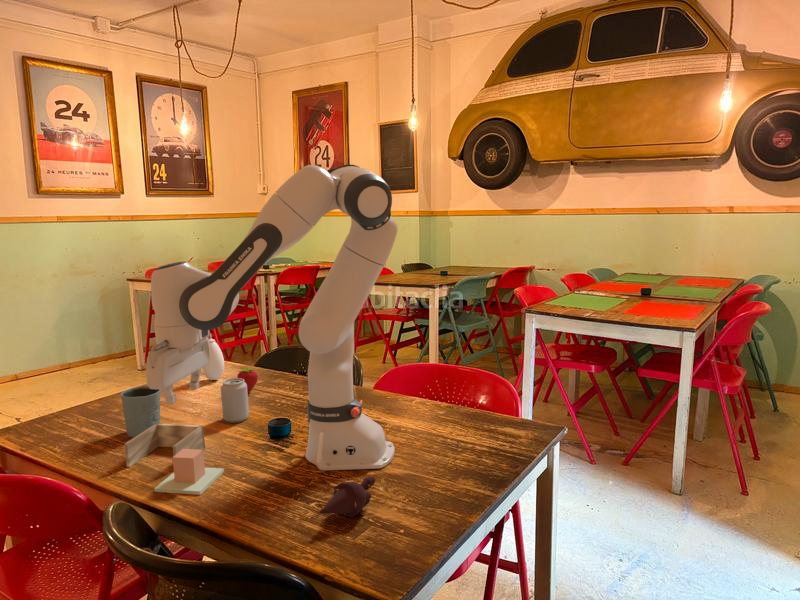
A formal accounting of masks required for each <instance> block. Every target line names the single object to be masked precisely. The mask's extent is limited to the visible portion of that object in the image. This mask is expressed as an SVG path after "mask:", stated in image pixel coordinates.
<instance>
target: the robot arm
mask: <svg viewBox="0 0 800 600" xmlns="http://www.w3.org/2000/svg"><path fill="white" fill-rule="evenodd" d="M392 206H393V195H392V191H391V188H390V186H389V184H388V183H387V182H386V181H385V180H384V179H383V177H381V176H379V175H378V174H376V173H374V172H373V171H371V170H370V169H367V168H364V167H360V166H358V165H356V164H344V165H340V166H337V167H334V168H331V169H329V170H326V169H325V168H324V167H321V166H319V165H316V164H308V165H305V166H303V167H302V168H301V169H299V170H298V171H296V172H295V173H294V174H293V175H292V176H290V177H289V178H288V179H286V180H285V182H284V183H282V184H281V185H280V187H279V188H278V189H276V191H274V193H273V194H272V195H271V196H270V197H269V199H268V200H267V201H266V203H265V204H264V205H263V207H262V208H261V210H260V211H259V213H258V214H257V215H256V218H255V220H254V222H253V223H252V225H251V226H250V228H249V230H248V232H247V233H246V235H245V236H244V238H243V240H242V241H241V242H240V244H238V246H237V247H236V248H235V249H234V250H233V251H232V252H231V254H229V256H228V257H227V258H225V260H224V261H223V262H222V263H221V264H220V266H218V267H217V268H216V270H215V271H214V272H213V273H212V272H211V273H210V272H209V271H208V272H207V271H205V270H202V269H200V268H198V267H195V266H194V265H192V264H190V263H189V262H187V261H177V262H171V263H167V264H164V265H161V266H158V267H157V268H155V269H154V270H153V271H152V274H151V279H150V294H151V295H150V297H151V306H152V308H153V310H154V315H155V316H154V323H153V325H154V327H153V328H154V334H155V335H154V336H155V344H154V345H152V347H151V349H150V351H149V352H148V356H147V357H146V365H145V366H146V367H145V368H146V371H145V372H146V385H147V386H148V387H149V388H150V389H160V393H162V395H163V396H164V399H165V401H164V402H165V404H166V405H173V404H175V403H176V402H177V401H178V400H177V394H174V392H173V389H174V386H173V385H174V384H175V383H179V381H181V380H183V379H185V378H187V377H188V376H190V381H189V382H188V389H189V391H196V390H197V389H200V378H201V375H202V368H203V367H205V366H207V365H208V364H209V362H210V343H209V339H210V338H209V337H210V333H211V332H210V331H212V330H215V329H217V328H220V327H222V325H224V323H225V322H226V321H227V320H228V318H229V316H230V315H231V314H232V313H233V312H234V310H235V309H236V308H237V306H238V304H239V303H240V299H241V298H240V295H241V294H240V291H242V289H243V288H245V286H246V285H247V284H248V283H249V282H250V281H251V279H252V278H253V277H254V276H255V275H256V274H257V273H258V272H259V271H260V269H261V268H263V266H264V265H266V264H267V263H268V262H270V261H271V260H272V259H274V258H275V257H277V256H278V255H280V254H281V253H284V252H285V251H287V250H289V249H290V248H292V247H293V246H294V245H296V244H297V243H298V242H299V241H301V240H302V239H303V238H305V237H306V235H307V234H308V233H310V231H311V230H312V229H313V227H314V228H315V226H316V225H317V224H318V223H319V221H320V220H321V219H322V218H323V217H324V216H326V214H328V213H329V212H331V211H334V210H340V212H341V213H343V214H345V215H347V216H350V220H351V224H350V229H349V231H348V232H349V233H348V234H347V236H346V237H345V239H344V241H343V243H342V245H341V247H340V248H339V251H338V253H337V255H336V257H335V259H334V261H333V263H332V265H331V268H330V269H329V271H328V272H327V274H326V276H325V278H324V279H323V281H322V282H321V284H320V286H319V288H318V290H317V291H316V293H315V295H314V296H313V298H312V300H311V302H310V303H309V306H308V307H307V309H306V311H305V312H304V314H303V317H302V318H301V321H300V324H299V327H298V338H299V342H300V343H301V345H302V346H303V348H305V349H306V350H307V351H308V352H309V359H308V366H307V386H308V400H307V407H306V408H307V410H306V411H307V413H306V414H307V418H308V419H307V420H308V421H307V422H308V423H309V429H308V431H309V432H308V441H307V446H306V451H305V454H304V456H305V459H306V460H307V461H308V462H309V463H312V464H313V465H315V466H316V468H318V470H319V471H340V470H341V471H343V470H345V471H346V470H347V471H348V470H370V469H371V470H372V469H382V468H385V467H386V466H387V465H388V464H390V463H391V462H392V461H393V459H394V457H395V452H396V449H395V445H394V443H393V442H391V441H388V440H386V436H385V432H384V431H385V430H384V429H383V426H381V425H380V424H379V423H377V422H376V421H374V420H373V419H371V418H370V417H369V416H368V415H366V414H364V413H363V399H360V401H359V400H358V399H356V398H355V397H354V374H353V373H354V372H353V371H354V370H353V368H354V366H353V365H354V350H355V349H354V346H355V341H354V340H355V321H356V319H357V318H358V315H359V313H360V312H361V310H362V308H363V306H364V305H365V302H366V301H367V298H368V297H369V295H370V294H371V291H372V290H373V287H375V286H374V285H375V284H376V282H377V280H378V278H379V277H380V275H381V272H382V271H383V269H384V267H385V264H386V263H387V260H388V259H389V256H390V254H391V252H392V248H393V246H394V244H395V241H396V237H397V234H398V223H397V221H396V220H395V219H394V217H392V216H391V215H392V213H391V212H392V211H391V210H392ZM208 336H209V337H208Z"/></svg>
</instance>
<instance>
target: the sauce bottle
mask: <svg viewBox="0 0 800 600" xmlns="http://www.w3.org/2000/svg"><path fill="white" fill-rule="evenodd" d="M208 339H209V343H210V362H209V364H208V365H207V366H205V367H203V368H201V371H202V372H203V375H204V376H205V378H207V379H208V380H210V381H212V380H216V381H217V380H219V379H220V378H221V377H222V376H223V374H224V371H225V360H224V355H223V352H222V349H221V348H220V346H219V345H218V343H217V342H216V340H215V339H213V338H212V333H211V332H210V334H209V338H208Z"/></svg>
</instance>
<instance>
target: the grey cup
mask: <svg viewBox="0 0 800 600" xmlns="http://www.w3.org/2000/svg"><path fill="white" fill-rule="evenodd" d="M120 399H121V404H122V410H123V415H124V416H123V418H124V422H125V429H126V435H127V436H128V437H129V438H131V437H132V438H131V439H133V438H134V437H136V436H137V435H139V434H140V433H142V432H144V431H145V430H147V429H148V428H150V427H151V426H153V425H154V424H161V390H160V389H150V388H149V387H148V385H147V386H136V387H133V388H128V389H125V390H124V391H122V392H121V393H120Z"/></svg>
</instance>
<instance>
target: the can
mask: <svg viewBox="0 0 800 600" xmlns="http://www.w3.org/2000/svg"><path fill="white" fill-rule="evenodd" d="M248 393H249V392H247V384H246V383H245V382H244V379H242V378H237V377H235V378H234V377H231V378H228V379H225V380H223V381H222V385H221V386H220V395H221V409H222V419H223V420H225V422H226V423H231V424H236V423H237V424H238V423H241V422H244V421H246V420H247V419H248V418H249V416H250V407H249V397H248V396H249V395H248Z"/></svg>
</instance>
